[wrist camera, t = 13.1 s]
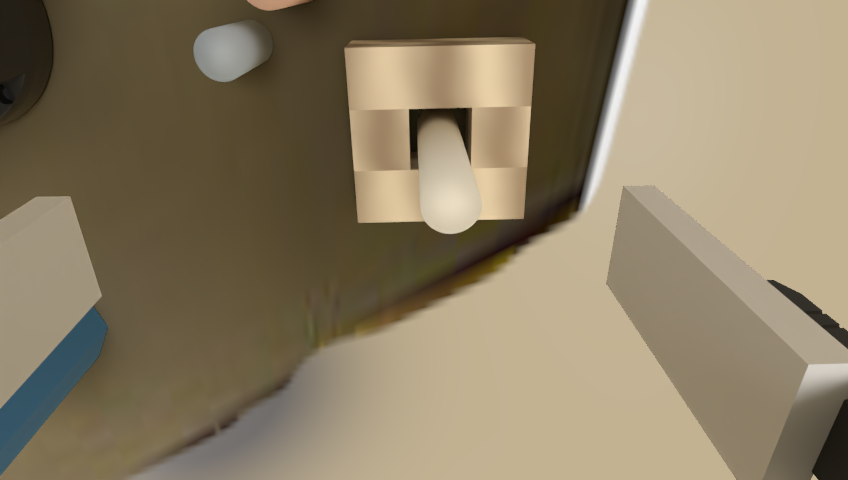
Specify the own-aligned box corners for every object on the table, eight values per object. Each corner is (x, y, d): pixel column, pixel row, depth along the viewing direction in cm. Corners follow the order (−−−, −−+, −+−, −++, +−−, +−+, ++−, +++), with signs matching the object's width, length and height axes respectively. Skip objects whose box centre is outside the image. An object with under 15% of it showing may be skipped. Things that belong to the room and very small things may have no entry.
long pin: (417, 145, 41) (420, 234, 27) (416, 105, 40) (419, 177, 26) (456, 144, 41) (481, 233, 27) (456, 104, 40) (482, 175, 26)
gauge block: (362, 199, 43) (358, 222, 39) (351, 40, 38) (344, 48, 34) (513, 196, 43) (523, 218, 39) (522, 36, 38) (535, 43, 34)
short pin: (233, 65, 39) (199, 82, 32) (226, 20, 37) (188, 28, 31) (275, 64, 39) (249, 81, 32) (269, 19, 37) (241, 27, 31)
